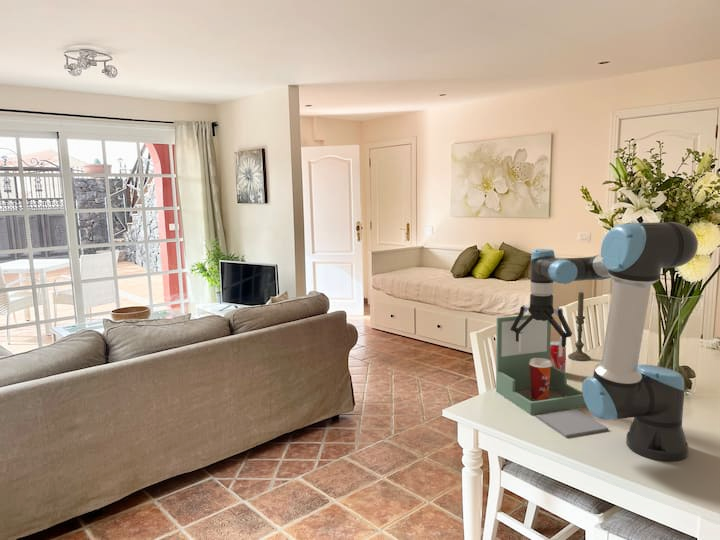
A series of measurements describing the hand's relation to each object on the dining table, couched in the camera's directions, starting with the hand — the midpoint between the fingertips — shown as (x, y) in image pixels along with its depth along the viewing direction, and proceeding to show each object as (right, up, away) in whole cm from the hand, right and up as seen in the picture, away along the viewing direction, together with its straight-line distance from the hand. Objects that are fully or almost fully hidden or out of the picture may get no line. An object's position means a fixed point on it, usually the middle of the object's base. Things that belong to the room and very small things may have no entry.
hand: (540, 353), depth 182 cm
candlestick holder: (+33, -10, +46) cm, 57 cm away
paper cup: (+1, -17, +2) cm, 17 cm away
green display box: (+1, -16, +2) cm, 17 cm away
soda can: (+16, -13, +27) cm, 33 cm away
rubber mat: (+3, -19, -19) cm, 27 cm away
